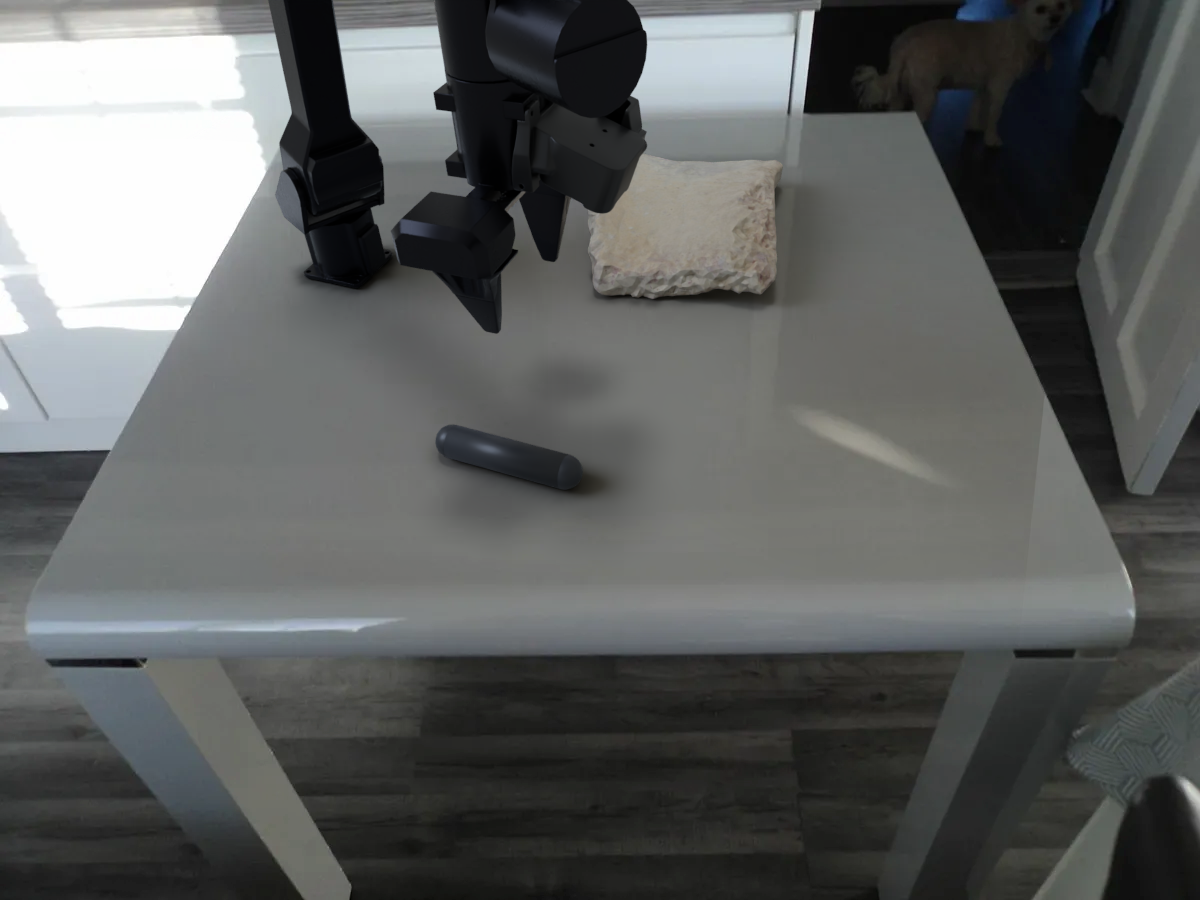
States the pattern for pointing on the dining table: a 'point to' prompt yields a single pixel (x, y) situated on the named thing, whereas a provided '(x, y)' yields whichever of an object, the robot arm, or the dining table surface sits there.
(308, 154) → the robot arm
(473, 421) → the dining table surface
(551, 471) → the dark grey capsule
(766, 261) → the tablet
